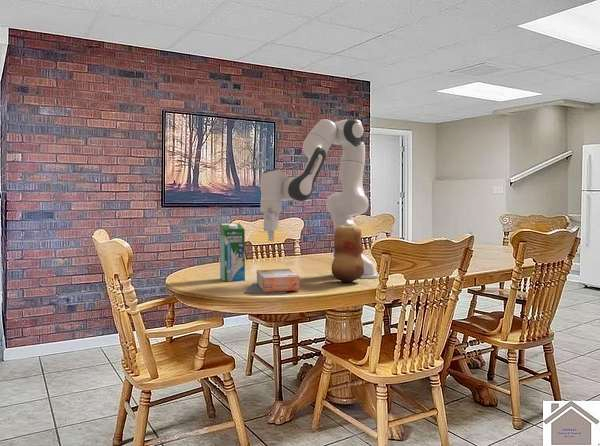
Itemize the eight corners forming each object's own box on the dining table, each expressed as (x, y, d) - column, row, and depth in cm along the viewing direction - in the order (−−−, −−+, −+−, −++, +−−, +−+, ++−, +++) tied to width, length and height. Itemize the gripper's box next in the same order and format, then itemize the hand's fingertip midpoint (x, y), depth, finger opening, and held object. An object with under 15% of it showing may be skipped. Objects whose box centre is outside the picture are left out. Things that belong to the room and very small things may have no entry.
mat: (290, 284, 208) (290, 283, 208) (285, 293, 187) (285, 292, 187) (252, 284, 209) (252, 283, 209) (243, 293, 188) (243, 292, 188)
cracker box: (256, 284, 208) (263, 292, 187) (256, 269, 207) (263, 276, 187) (289, 282, 210) (300, 291, 190) (289, 268, 210) (299, 275, 190)
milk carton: (224, 281, 215) (224, 224, 214) (220, 278, 224) (219, 223, 222) (245, 280, 219) (244, 223, 217) (239, 277, 227) (239, 222, 226)
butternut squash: (332, 285, 206) (332, 225, 205) (330, 279, 219) (330, 223, 218) (365, 285, 206) (366, 224, 205) (362, 279, 219) (362, 223, 218)
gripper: (275, 208, 196) (275, 243, 197) (281, 207, 216) (281, 239, 217) (259, 208, 196) (259, 243, 197) (266, 207, 217) (266, 239, 217)
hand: (271, 241), depth 207 cm, fingers closed
